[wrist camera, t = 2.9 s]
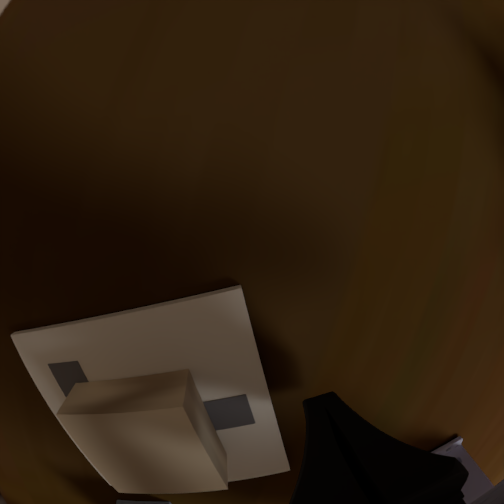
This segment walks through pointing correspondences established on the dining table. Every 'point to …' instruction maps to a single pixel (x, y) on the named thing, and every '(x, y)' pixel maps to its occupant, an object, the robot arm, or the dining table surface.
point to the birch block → (147, 434)
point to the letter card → (171, 367)
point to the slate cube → (139, 502)
